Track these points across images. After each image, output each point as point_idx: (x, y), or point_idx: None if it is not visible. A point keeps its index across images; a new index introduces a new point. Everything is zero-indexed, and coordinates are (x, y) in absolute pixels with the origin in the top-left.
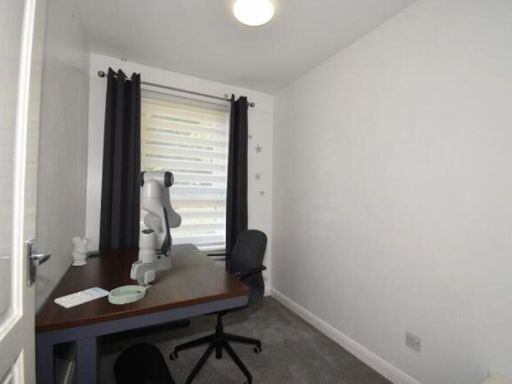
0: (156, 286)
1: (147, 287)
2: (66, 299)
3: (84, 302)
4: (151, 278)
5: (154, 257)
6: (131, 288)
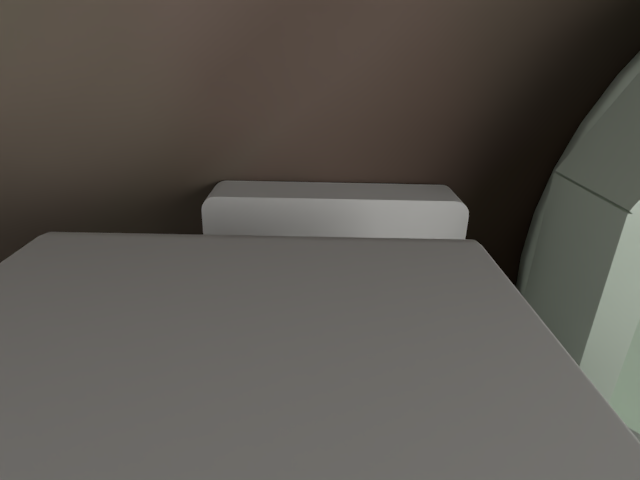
0: (95, 125)
1: (371, 202)
2: None
3: None
4: (201, 278)
5: None
6: None
